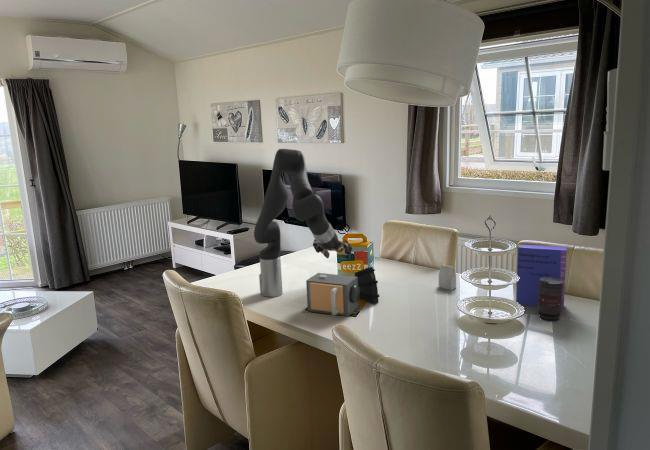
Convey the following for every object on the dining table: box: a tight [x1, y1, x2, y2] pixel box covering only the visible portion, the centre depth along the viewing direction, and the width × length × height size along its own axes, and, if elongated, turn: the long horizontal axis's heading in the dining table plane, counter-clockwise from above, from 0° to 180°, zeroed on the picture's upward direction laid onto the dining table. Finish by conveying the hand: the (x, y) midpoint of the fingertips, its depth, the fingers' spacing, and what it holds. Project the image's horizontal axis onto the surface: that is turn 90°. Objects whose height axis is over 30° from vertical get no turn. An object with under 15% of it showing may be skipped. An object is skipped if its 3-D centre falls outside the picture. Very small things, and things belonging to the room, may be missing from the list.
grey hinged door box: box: [305, 272, 360, 317], centre depth 208 cm, size 20×11×14 cm, turn 65°
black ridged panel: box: [353, 266, 380, 305], centre depth 218 cm, size 4×13×15 cm, turn 31°
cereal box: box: [515, 244, 568, 310], centre depth 202 cm, size 17×5×24 cm, turn 65°
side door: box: [308, 282, 344, 316], centre depth 201 cm, size 15×5×11 cm, turn 65°
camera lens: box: [537, 277, 563, 323], centre depth 189 cm, size 8×8×15 cm
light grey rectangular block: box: [438, 264, 457, 291], centre depth 229 cm, size 4×7×10 cm, turn 41°
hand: (338, 256), depth 197 cm, fingers open, 8 cm apart
